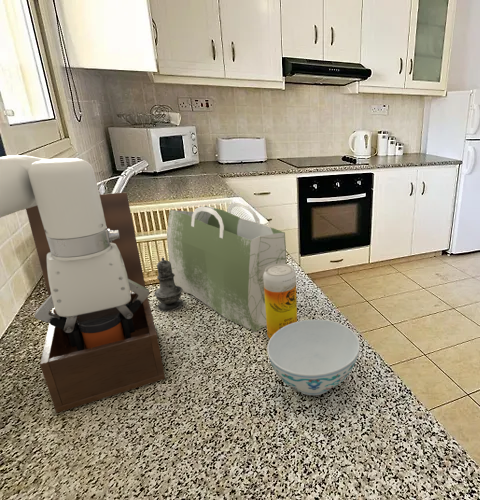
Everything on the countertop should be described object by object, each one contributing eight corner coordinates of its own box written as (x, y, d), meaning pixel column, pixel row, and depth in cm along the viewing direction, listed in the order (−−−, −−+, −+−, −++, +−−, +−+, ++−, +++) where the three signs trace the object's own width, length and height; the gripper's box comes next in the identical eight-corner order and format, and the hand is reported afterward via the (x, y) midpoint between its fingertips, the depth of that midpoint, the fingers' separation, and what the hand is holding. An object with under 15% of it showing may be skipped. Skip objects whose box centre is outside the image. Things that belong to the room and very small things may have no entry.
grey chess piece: (150, 308, 85) (141, 259, 80) (171, 296, 90) (163, 250, 86) (170, 313, 83) (161, 264, 78) (190, 301, 88) (183, 254, 84)
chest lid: (126, 192, 70) (126, 192, 70) (23, 200, 62) (24, 200, 63) (145, 287, 74) (145, 286, 75) (51, 306, 66) (51, 305, 67)
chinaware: (261, 365, 67) (259, 329, 65) (338, 347, 73) (339, 312, 70) (281, 427, 55) (279, 385, 52) (373, 399, 60) (375, 360, 57)
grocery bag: (300, 306, 87) (297, 210, 79) (253, 332, 77) (244, 225, 68) (217, 270, 105) (207, 188, 96) (169, 287, 94) (154, 197, 86)
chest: (165, 378, 64) (156, 334, 60) (56, 413, 56) (39, 364, 53) (153, 327, 78) (146, 289, 74) (65, 349, 70) (52, 308, 67)
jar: (83, 369, 64) (68, 319, 60) (118, 350, 69) (106, 302, 65) (104, 381, 61) (90, 329, 57) (139, 361, 66) (128, 312, 62)
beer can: (284, 348, 72) (280, 278, 67) (261, 338, 75) (256, 270, 70) (303, 333, 77) (302, 267, 71) (281, 324, 80) (278, 260, 74)
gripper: (142, 227, 64) (159, 318, 70) (11, 244, 55) (44, 345, 62) (146, 240, 58) (164, 338, 65) (0, 261, 49) (38, 372, 56)
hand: (105, 341), depth 63 cm, fingers closed on jar, 6 cm apart
